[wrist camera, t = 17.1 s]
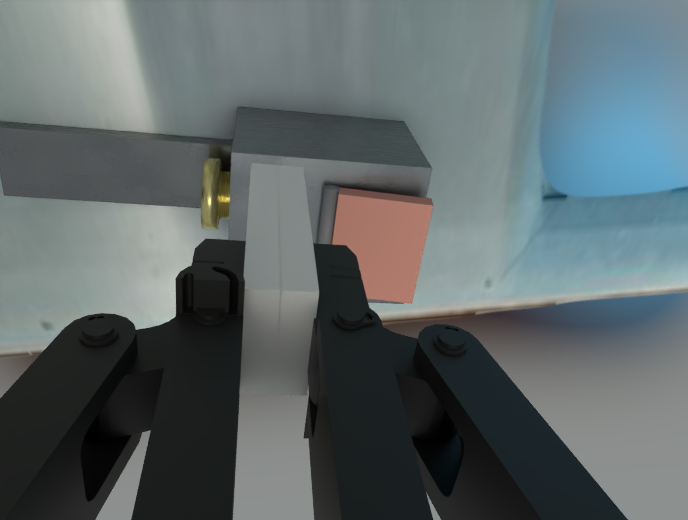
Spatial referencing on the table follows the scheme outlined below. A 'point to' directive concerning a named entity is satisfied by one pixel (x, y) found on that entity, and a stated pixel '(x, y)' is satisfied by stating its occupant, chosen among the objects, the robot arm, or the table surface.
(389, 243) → the salmon pink slab
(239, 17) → the table surface
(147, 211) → the table surface
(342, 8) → the table surface
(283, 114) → the block
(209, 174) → the lynch pin
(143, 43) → the table surface
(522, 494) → the robot arm
